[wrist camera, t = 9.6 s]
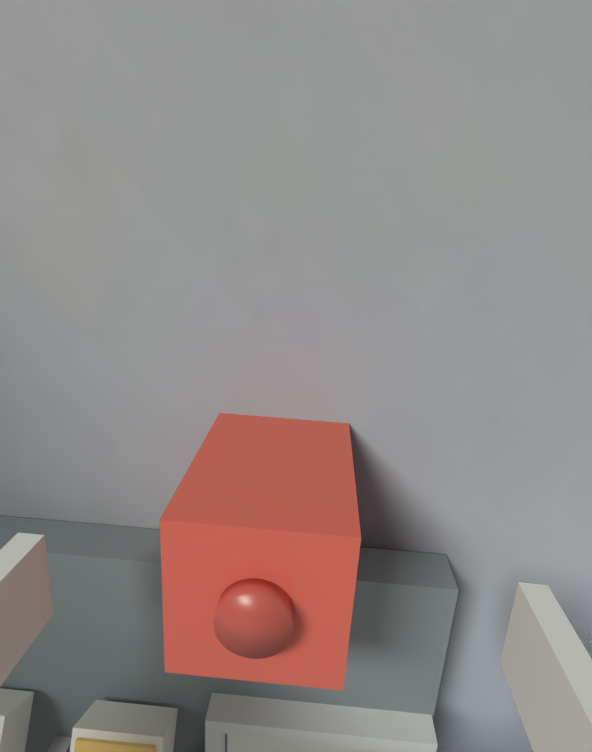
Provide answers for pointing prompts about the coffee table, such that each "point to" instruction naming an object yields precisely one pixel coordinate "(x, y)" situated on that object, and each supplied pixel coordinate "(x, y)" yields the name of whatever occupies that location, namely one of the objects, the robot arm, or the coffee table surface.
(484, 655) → the coffee table surface
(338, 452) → the cap
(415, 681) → the panel
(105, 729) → the breaker
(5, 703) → the block
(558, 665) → the robot arm
